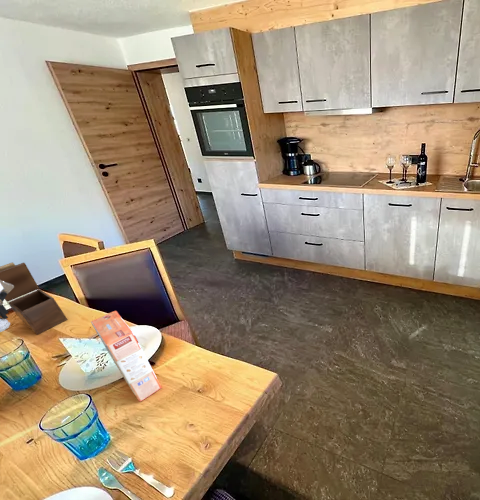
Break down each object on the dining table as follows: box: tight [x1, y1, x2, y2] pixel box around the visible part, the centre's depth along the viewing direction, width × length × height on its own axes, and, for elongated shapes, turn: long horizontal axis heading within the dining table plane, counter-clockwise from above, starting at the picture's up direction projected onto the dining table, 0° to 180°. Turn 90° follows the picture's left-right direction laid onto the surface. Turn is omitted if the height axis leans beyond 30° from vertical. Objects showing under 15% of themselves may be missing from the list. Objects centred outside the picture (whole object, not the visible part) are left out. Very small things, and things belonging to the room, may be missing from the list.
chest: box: [7, 288, 68, 336], centre depth 104 cm, size 12×9×10 cm
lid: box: [0, 262, 40, 303], centre depth 101 cm, size 13×9×5 cm
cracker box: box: [90, 310, 162, 403], centre depth 77 cm, size 14×6×21 cm, turn 51°
